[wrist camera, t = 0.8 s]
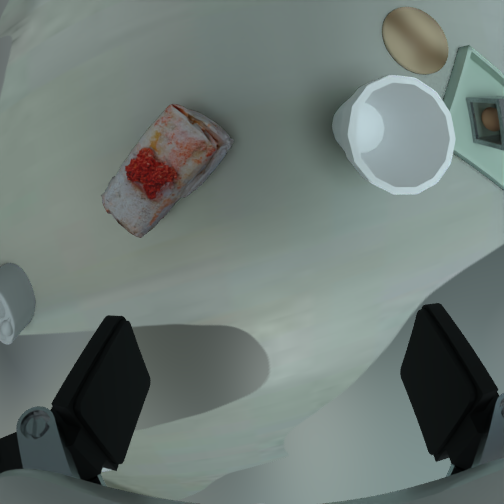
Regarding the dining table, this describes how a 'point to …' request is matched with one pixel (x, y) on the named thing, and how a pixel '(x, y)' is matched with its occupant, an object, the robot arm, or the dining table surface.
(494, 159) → the tray
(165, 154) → the food item
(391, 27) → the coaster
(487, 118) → the ball
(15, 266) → the lumpy-topped squat cylinder
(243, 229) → the dining table surface
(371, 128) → the foam cup
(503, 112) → the knobbed drawer box
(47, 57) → the dining table surface
